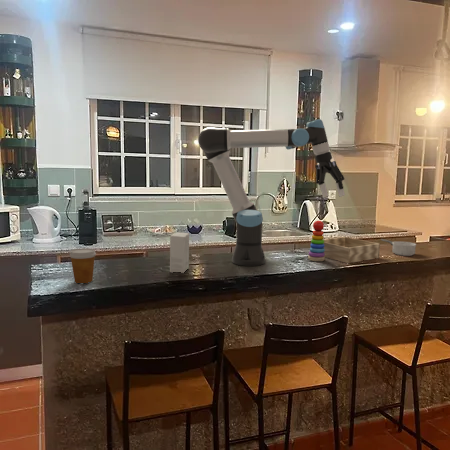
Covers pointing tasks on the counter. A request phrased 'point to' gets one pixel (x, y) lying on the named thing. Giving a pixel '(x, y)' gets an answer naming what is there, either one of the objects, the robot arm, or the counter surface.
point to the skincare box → (179, 252)
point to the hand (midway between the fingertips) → (333, 196)
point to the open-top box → (350, 249)
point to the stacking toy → (317, 243)
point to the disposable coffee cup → (83, 264)
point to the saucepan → (402, 248)
